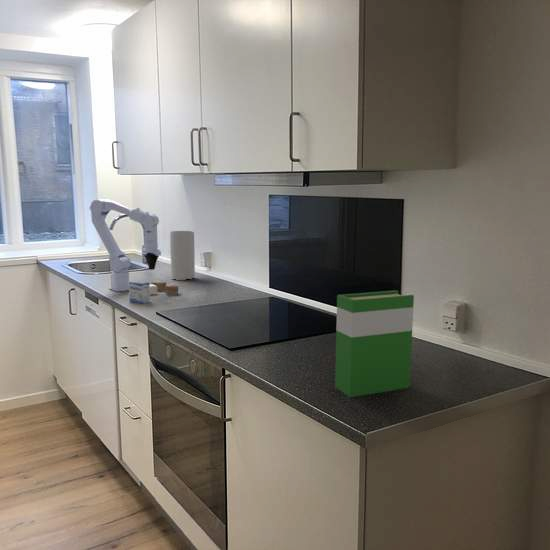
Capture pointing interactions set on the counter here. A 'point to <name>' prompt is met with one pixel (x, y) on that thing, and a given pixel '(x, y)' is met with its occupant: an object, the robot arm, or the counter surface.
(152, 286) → the plain block
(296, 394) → the counter surface
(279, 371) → the counter surface
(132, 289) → the medicine box
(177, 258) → the cylinder vase
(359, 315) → the hardback book
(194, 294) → the counter surface
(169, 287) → the dotted block
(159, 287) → the dotted block
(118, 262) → the robot arm
